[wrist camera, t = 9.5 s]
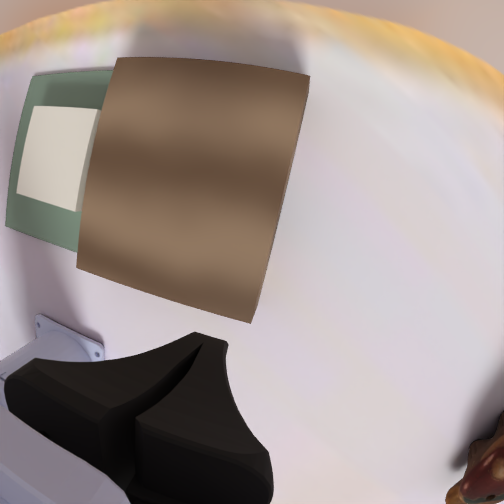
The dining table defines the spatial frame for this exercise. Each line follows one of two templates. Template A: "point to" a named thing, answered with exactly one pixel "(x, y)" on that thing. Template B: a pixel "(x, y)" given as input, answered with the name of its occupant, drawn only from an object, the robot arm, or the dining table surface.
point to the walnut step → (190, 179)
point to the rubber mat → (19, 206)
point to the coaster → (58, 155)
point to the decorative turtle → (482, 472)
